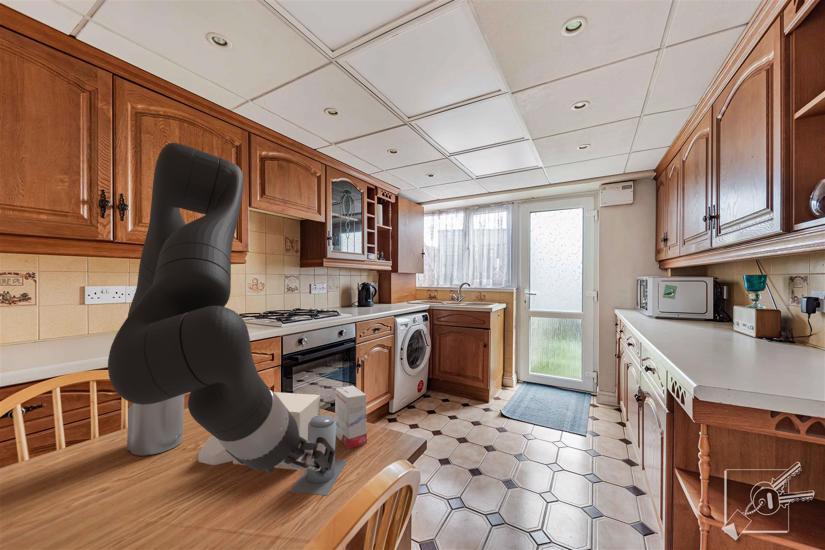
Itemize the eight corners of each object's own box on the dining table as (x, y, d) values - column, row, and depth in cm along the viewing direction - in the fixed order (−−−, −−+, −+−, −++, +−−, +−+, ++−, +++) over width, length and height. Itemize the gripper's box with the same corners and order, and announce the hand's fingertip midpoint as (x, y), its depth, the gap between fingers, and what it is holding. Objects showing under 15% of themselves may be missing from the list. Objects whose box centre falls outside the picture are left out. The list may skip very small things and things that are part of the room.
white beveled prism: (235, 405, 87) (182, 452, 63) (259, 391, 88) (216, 432, 64) (249, 429, 87) (201, 484, 64) (273, 415, 88) (235, 464, 64)
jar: (301, 481, 60) (303, 424, 60) (313, 465, 65) (315, 412, 65) (327, 485, 59) (329, 426, 59) (338, 468, 64) (340, 415, 64)
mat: (289, 494, 57) (289, 491, 57) (315, 460, 68) (315, 457, 68) (327, 498, 56) (327, 495, 56) (347, 463, 67) (347, 460, 67)
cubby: (232, 466, 65) (234, 407, 65) (261, 442, 75) (263, 391, 75) (298, 472, 63) (300, 412, 64) (318, 447, 73) (320, 395, 74)
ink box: (367, 446, 74) (368, 394, 75) (346, 452, 72) (348, 398, 72) (352, 431, 82) (353, 384, 82) (333, 436, 79) (334, 387, 79)
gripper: (320, 400, 42) (346, 445, 53) (220, 394, 44) (265, 440, 55) (301, 463, 37) (334, 499, 48) (188, 454, 39) (245, 491, 50)
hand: (297, 467), depth 52 cm, fingers open, 8 cm apart
